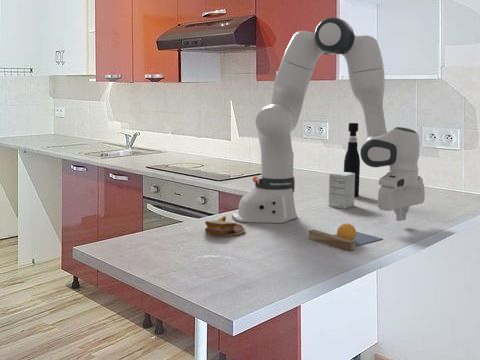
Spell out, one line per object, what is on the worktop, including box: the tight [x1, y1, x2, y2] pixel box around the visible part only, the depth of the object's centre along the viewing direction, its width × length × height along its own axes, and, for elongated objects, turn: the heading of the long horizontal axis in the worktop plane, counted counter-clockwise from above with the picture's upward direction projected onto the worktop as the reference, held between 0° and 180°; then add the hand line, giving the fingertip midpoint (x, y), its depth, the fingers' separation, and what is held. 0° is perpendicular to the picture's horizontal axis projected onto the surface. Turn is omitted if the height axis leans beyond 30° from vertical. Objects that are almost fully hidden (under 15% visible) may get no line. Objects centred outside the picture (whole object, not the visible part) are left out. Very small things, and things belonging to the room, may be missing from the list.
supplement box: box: [328, 170, 355, 209], centre depth 210 cm, size 7×7×13 cm
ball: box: [336, 222, 357, 240], centre depth 162 cm, size 6×6×6 cm
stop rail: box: [308, 229, 356, 252], centre depth 160 cm, size 2×16×2 cm, turn 38°
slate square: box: [333, 231, 383, 247], centre depth 167 cm, size 12×12×1 cm
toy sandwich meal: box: [204, 216, 246, 238], centre depth 172 cm, size 12×14×5 cm
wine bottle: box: [343, 122, 361, 198], centre depth 227 cm, size 6×6×30 cm
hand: (401, 220), depth 180 cm, fingers closed
